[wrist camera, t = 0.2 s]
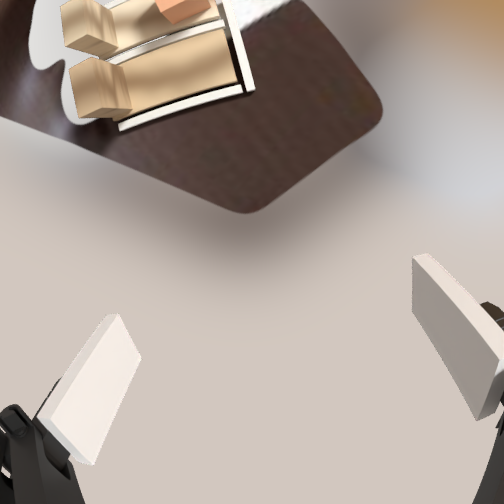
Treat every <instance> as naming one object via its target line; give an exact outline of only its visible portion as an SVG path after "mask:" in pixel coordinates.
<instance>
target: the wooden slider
mask: <svg viewBox="0 0 504 504" xmlns="http://www.w3.org/2000/svg"><path fill="white" fill-rule="evenodd" d="M208 1H209V3H210V5H211V8H208V9H206V10H204V11H201V12H199V13H197V14H195V15H193V16H191V17H188V18H186V19H184V20H182V21H180V22H178V23H176V24H174V25H173V24H172V23H171V22H170V21H169V20H168V19H167V18H166V17H165V16H164V15H163V14H162V13H161V12H160V10H159V8H158V6H157V4H156V2H155V0H129V1H127V2H125V3H123V4H120V5H118V6H116V7H114V8H112V9H110V10H109V9H107V8H105V7H104V6H102V5H100V4H99V3H97V2H95V1H93V0H70V1H68V2H67V3H65V4H63V5H62V6H61V7H60V9H61V18H62V27H63V35H64V42H65V47H69V48H72V49H75V50H79V51H82V52H86V53H89V54H92V55H96V56H98V57H99V59H100V60H103V61H105V60H107V59H109V58H112V57H114V56H116V55H118V54H120V53H123V52H125V51H127V50H130V49H132V48H134V47H137V46H139V45H141V44H144V43H146V42H149V41H151V40H154V39H157V38H159V37H162V36H165V35H168V34H171V33H174V32H177V31H180V30H183V29H186V28H189V27H192V26H195V25H199V24H202V23H205V22H209V21H213V20H216V19H220V15H219V11H218V8H217V4H216V1H215V0H208Z"/></svg>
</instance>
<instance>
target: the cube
mask: <svg viewBox="0 0 504 504" xmlns="http://www.w3.org/2000/svg"><path fill="white" fill-rule="evenodd" d="M155 2H156V4H157V6H158V8H159V10H160V12H161V13H162V14H163V15H164V16H165V17H166V18H167V19H168V20H169V21H170V22H171V23H172V24H173V25H174V24H176V23H178V22H180V21H182V20H184V19H186V18H188V17H191V16H193V15H195V14H197V13H199V12H201V11H204V10H206V9H208V8H211V5H210V3H209V1H208V0H155Z"/></svg>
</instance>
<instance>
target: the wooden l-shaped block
mask: <svg viewBox="0 0 504 504" xmlns="http://www.w3.org/2000/svg"><path fill="white" fill-rule="evenodd" d="M69 74H70V79H71V84H72V89H73V94H74V99H75V104H76V108H77V113H78V117H79V118H113V121H119V120H121V119H124V118H126V117H129V116H131V115H134V114H136V113H139V112H142V111H144V110H147V109H150V108H153V107H155V106H158V105H161V104H164V103H167V102H170V101H173V100H176V99H179V98H182V97H185V96H188V95H192V94H195V93H198V92H202V91H205V90H209V89H212V88H216V87H220V86H223V85H227V84H231V83H235V82H237V78H236V74H235V70H234V66H233V63H232V59H231V55H230V51H229V48H228V44H227V40H226V37H225V33H224V30H223V29H220V30H216V31H213V32H209V33H206V34H202V35H199V36H195V37H192V38H189V39H186V40H183V41H180V42H177V43H174V44H171V45H168V46H165V47H162V48H160V49H157V50H154V51H152V52H149V53H147V54H144V55H142V56H139V57H137V58H134V59H132V60H129V61H127V62H125V63H122V64H120V65H115V64H112V63H109V62H106V61H103V60H100V59H96V58H93V57H90V58H88V59H86V60H84V61H83V62H81V63H79V64H77V65H75V66H73V67H72V68H70V69H69Z"/></svg>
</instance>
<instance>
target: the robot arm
mask: <svg viewBox="0 0 504 504" xmlns="http://www.w3.org/2000/svg"><path fill="white" fill-rule="evenodd" d="M412 274H413V275H412V288H413V289H412V312H413V314H414V315H415V317H416V318H417V320H418V321H419V323H420V324H421V326H422V327H423V329H424V331H425V332H426V334H427V335H428V337H429V339H430V340H431V342H432V343H433V345H434V347H435V348H436V350H437V352H438V353H439V355H440V357H441V358H442V360H443V361H444V363H445V365H446V367H447V368H448V370H449V372H450V374H451V375H452V377H453V379H454V380H455V382H456V384H457V386H458V387H459V390H460V391H461V393H462V395H463V397H464V399H465V401H466V402H467V404H468V406H469V408H470V410H471V412H472V414H473V416H474V418H475V420H476V421H478V420H480V419H483V418H485V417H487V416H489V415H491V414H493V413H495V411H496V409H497V407H498V405H499V402H500V401H501V403H502V405H503V406H504V312H503V311H501V309H500V308H499V307H497V306H495V305H493V304H491V303H489V302H485V303H482V304H478V302H477V301H476V300H475V299H474V298H473V297H472V296H471V295H470V294H469V293H468V292H467V291H466V290H465V289H464V288H463V287H462V286H461V285H460V284H459V283H458V282H457V281H456V280H455V279H454V278H453V277H452V276H451V275H450V274H449V273H448V272H447V271H446V270H445V269H444V268H443V267H442V266H441V265H440V264H439V263H438V262H437V261H436V260H435V259H434V258H433V257H431V256H430V255H429V254H428V253H425V254H421V255H417V256H413V257H412ZM141 359H142V358H141V356H140V354H139V352H138V350H137V349H136V347H135V345H134V343H133V341H132V339H131V337H130V335H129V333H128V331H127V329H126V327H125V325H124V323H123V321H122V319H121V318H120V315H119V313H118V314H111V315H106V316H105V317H104V319H103V320H102V321H101V323H100V324H99V325H98V327H97V328H96V330H95V331H94V332H93V334H92V335H91V336H90V338H89V339H88V341H87V342H86V343H85V345H84V346H83V348H82V349H81V350H80V352H79V353H78V355H77V356H76V358H75V359H74V360H73V362H72V363H71V365H70V366H69V368H68V369H67V371H66V372H65V374H64V375H63V376H62V377H61V378H60V379H59V380H58V381H57V382H56V384H55V385H54V387H53V389H52V391H50V393H49V395H48V396H47V397H48V398H46V399H45V400H44V402H43V404H42V405H41V407H40V408H39V410H38V411H37V413H36V415H35V416H34V418H33V419H32V421H31V419H30V418H29V417H28V416H27V415H26V413H25V412H24V411H23V410H22V409H21V407H20V406H19V405H17V404H13V405H10V406H8V407H6V408H5V409H3V411H2V412H1V413H0V426H1V427H2V428H3V430H4V431H5V432H6V433H4V432H3V431H2V430H1V429H0V504H85V502H84V499H83V496H82V493H81V490H80V487H79V484H78V481H77V478H76V475H75V471H74V468H73V465H72V463H71V462H70V461H69V460H68V458H69V456H70V454H71V455H72V456H73V457H74V458H75V459H76V460H77V461H78V462H79V463H83V464H88V465H94V463H95V461H96V459H97V456H98V454H99V451H100V449H101V447H102V444H103V442H104V440H105V438H106V435H107V433H108V431H109V428H110V426H111V424H112V421H113V419H114V417H115V415H116V413H117V410H118V408H119V406H120V404H121V401H122V399H123V397H124V395H125V393H126V391H127V388H128V386H129V384H130V382H131V380H132V378H133V376H134V374H135V371H136V369H137V367H138V365H139V363H140V361H141ZM496 428H499V429H498V433H497V437H496V440H495V443H494V447H493V450H492V453H491V456H490V459H489V462H488V465H487V468H486V471H485V474H484V476H483V479H482V482H481V484H480V486H479V489H478V492H477V494H476V496H475V499H474V501H473V503H472V504H504V412H503V414H502V416H501V418H500V420H499V422H498V424H497V426H496ZM2 466H3V467H4V468H5V469H6V470H7V471H8V472H9V473H10V474H11V476H10V478H8V477H7V476H5V475H4V474H3V473H2V472H1V469H2Z"/></svg>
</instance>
